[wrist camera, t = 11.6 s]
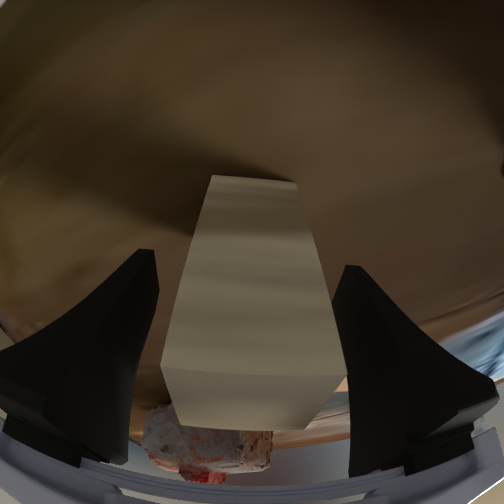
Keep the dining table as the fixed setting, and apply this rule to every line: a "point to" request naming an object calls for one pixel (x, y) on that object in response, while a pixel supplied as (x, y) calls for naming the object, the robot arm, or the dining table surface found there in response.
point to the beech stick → (252, 314)
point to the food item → (203, 448)
